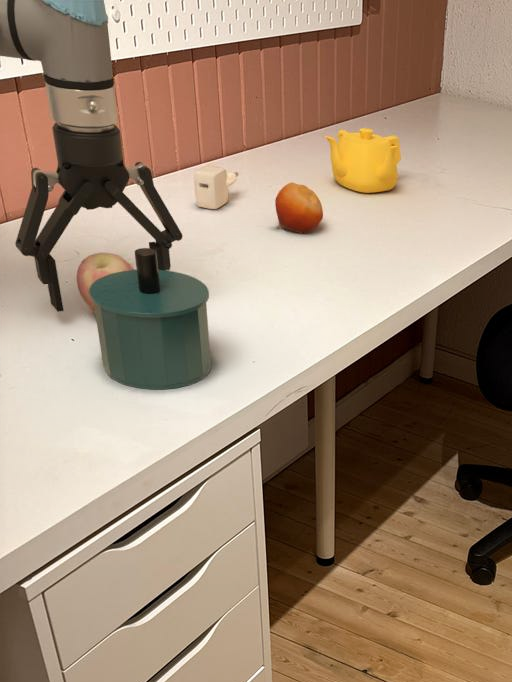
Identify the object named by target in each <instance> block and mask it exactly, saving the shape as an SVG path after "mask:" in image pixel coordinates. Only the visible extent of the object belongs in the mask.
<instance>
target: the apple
mask: <svg viewBox="0 0 512 682" xmlns="http://www.w3.org/2000/svg"><path fill="white" fill-rule="evenodd" d="M128 270H135V268H134V267H133V266H132V264H130V263H129V261H127V260H126V259H125V258H124V257H122V256H121V255H119V254H115V253H110V252H97V253H93V254H90V255H88V256H86V257H85V258H84V259H82V260H81V262H80V264H79V266H78V268H77V271H76V285H77V290H78V292H79V294H80V296H81V298H82V300H83V301H84V303H85V304H86V305H87V306H88V308H90V309H91V310H92V311H93V312H95V308H94V302H93V301H92V300H91V298H90V294H89V289H90V286H91V285H92V284H93V283H94V282H95V281H96V280H98V279H99V278H102V277H104V276H106V275H109V274H113V273H117V272H122V271H128Z"/></svg>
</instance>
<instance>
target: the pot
mask: <svg viewBox="0 0 512 682" xmlns="http://www.w3.org/2000/svg"><path fill="white" fill-rule="evenodd" d="M94 308H95V311H94V314H95V321H96V327H97V333H98V340H99V347H100V354H101V360H102V361H101V362H102V366H103V368H104V371H105V373H106V374H107V376H108V377H109V378H111V379H112V380H113V381H115V382H116V383H119V384H122V385H125V386H128V387H132V388H137V389H144V390H172V389H179V388H183V387H187V386H191V385H193V384H196V383H198V382H200V381H202V380H203V379H205V378H206V377H207V375H209V373H210V371H211V369H212V361H211V360H212V359H211V347H210V334H209V319H208V308H207V302H206V303H205V304H204V305H203V306H202V307H200V308H199V309H197V310H194V311H192V312H189V313H186V314H181V315H176V316H170V317H157V318H146V317H133V316H126V315H121V314H117V313H113V312H110V311H107V310H105V309H103V308H101V307H99V306H97V305H96V304H95V303H94Z"/></svg>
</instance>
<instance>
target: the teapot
mask: <svg viewBox="0 0 512 682" xmlns="http://www.w3.org/2000/svg"><path fill="white" fill-rule="evenodd" d="M323 137H324V138H325V139H326V140H327V142H328V143H329V147H330V164H331V172H332V175H333V177H334V179H335V181H336V182H337V183H338V184H339V185H341V186H343V187H345V188H346V189H349V190H352V191H355V192H360V193H368V194H369V193H380V192H386V191H390V190H392V189H393V188H394V187H395V186H396V184H397V182H398V180H399V179H398V178H399V177H398V176H399V173H398V164H399V163H400V161H402V154H401V146H400V137H398V136H396V135H389V136H385V137H383V136H381V135H378V134H375V133H374V130H373V129H371V128H367V127H361V128H359V132H358V131H357V132H349V131H347V130H345V129H340V130H339V131H337V140H336V139H335V138H334V137H331V136H326V135H324V136H323Z"/></svg>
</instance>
